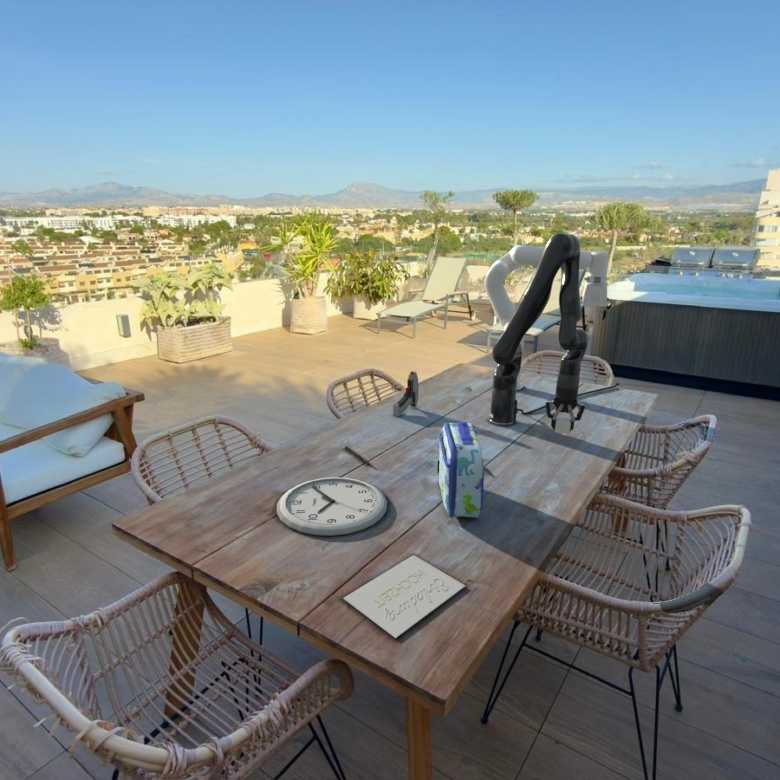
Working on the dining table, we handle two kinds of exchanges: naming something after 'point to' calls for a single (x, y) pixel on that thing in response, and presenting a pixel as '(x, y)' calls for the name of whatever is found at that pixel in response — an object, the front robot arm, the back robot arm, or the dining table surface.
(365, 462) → the brown thin rod
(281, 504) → the wall clock
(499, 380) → the front robot arm
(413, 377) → the toy gun
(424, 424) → the dining table surface
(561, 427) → the block
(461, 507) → the lunch box
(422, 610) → the invitation card
